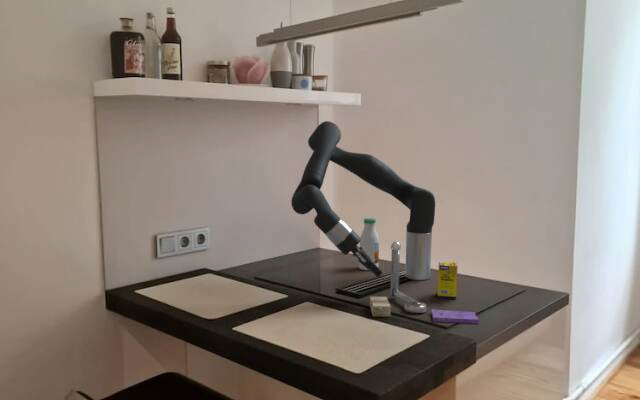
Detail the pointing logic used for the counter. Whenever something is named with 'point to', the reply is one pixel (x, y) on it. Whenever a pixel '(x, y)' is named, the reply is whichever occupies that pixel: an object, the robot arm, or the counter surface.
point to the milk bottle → (370, 241)
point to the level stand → (380, 306)
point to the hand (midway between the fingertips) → (380, 274)
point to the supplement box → (447, 280)
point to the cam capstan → (411, 303)
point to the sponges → (454, 316)
